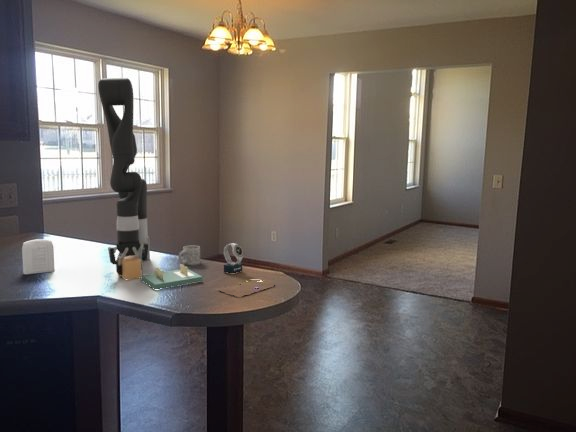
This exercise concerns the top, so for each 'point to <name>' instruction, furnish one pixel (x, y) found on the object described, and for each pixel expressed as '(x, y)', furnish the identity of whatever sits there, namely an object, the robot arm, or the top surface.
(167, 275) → the header board
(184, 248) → the mug
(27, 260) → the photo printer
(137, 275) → the block
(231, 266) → the watch
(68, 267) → the top surface
